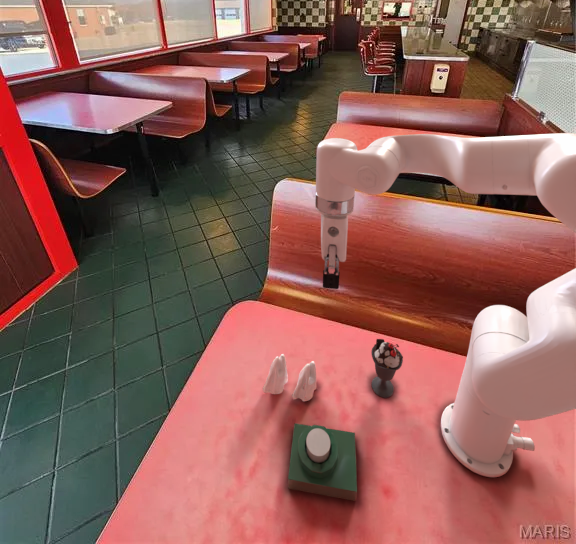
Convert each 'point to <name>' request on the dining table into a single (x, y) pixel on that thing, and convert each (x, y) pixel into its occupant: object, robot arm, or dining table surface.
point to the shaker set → (280, 378)
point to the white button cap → (318, 445)
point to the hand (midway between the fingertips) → (331, 271)
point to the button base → (324, 465)
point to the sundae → (385, 366)
